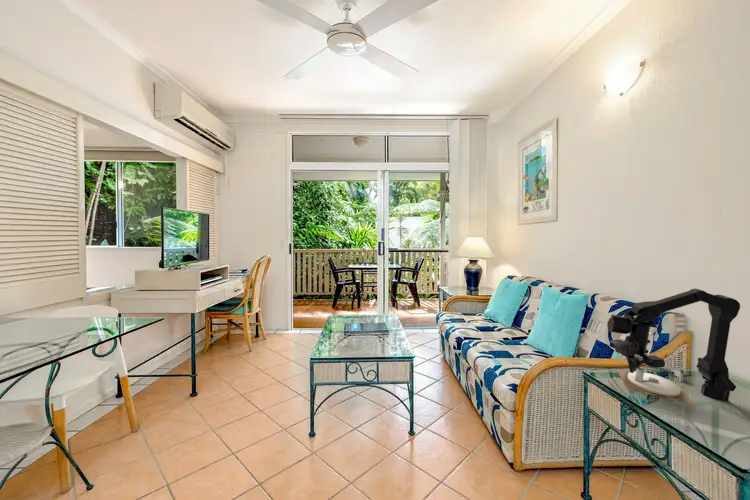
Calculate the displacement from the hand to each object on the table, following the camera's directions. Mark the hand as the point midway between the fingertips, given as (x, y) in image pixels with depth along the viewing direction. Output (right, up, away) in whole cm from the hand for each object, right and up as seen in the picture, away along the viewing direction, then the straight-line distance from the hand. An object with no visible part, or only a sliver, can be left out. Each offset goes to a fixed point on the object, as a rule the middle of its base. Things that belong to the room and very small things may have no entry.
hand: (631, 372), depth 134 cm
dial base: (+7, -6, -1) cm, 9 cm away
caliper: (+27, -6, +13) cm, 30 cm away
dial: (+7, -4, -2) cm, 8 cm away
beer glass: (+20, -4, +22) cm, 31 cm away
